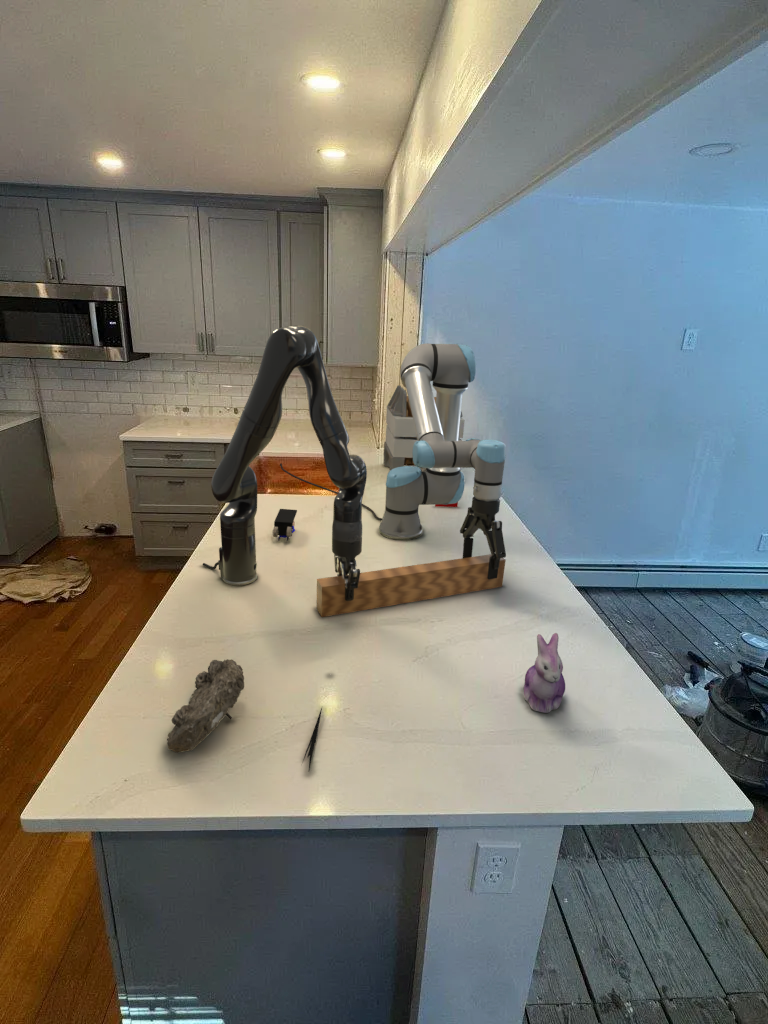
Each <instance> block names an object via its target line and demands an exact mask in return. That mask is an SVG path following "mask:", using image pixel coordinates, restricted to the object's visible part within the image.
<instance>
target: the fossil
mask: <svg viewBox="0 0 768 1024" xmlns="http://www.w3.org/2000/svg"><path fill="white" fill-rule="evenodd" d="M243 670H244V669H243V667H242V665H240V664H237V662H236V661H235V660H234V659H232V658H231V659H227V658H226V659H224V660H223V661H222V660H217V659H212V660H211V661H210V663H209V665H208V666H207V671H201V672H199V673H198V674H197V675H196V676H195V680H194V684H195V685H194V687H195V689H194V690H193V693H192V694H191V697H190V698H189V700H188V704H184V705H182V706H181V707H180V709H177V710H176V711H175V713H174V715H173V716H172V718H171V723H172V724H173V727H172V730H171V731H170V732H168V734H167V738H166V741H167V742H166V745H167V749H168V750H169V751H173V752H174V753H176V754H178V753H182V752H188V751H189V752H192V751H193V750H195V748H196V747H197V746H199V744H200V743H201V742H203V741H204V740H205V739H206V738H207V737H208V736H209V735H210V734H211V733H212V732H214V730H215V729H217V727H218V726H219V724H220V722H221V721H222V720H223V719H224V718H225V716H226V717H227V719H229V720H233V717H232V715H230V714H229V710H230V709H231V708H234V706H235V704H236V703H237V702H238V699H239V697H240V695H241V693H242V691H243V690H245V689H244V688H245V675H244V671H243Z"/></svg>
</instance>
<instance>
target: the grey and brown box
mask: <svg viewBox="0 0 768 1024" xmlns="http://www.w3.org/2000/svg"><path fill="white" fill-rule="evenodd" d="M434 400H435V404H436V396H434ZM385 414H386V415H385V423H386V428H385V438H384V442H383V466H384V467H388V468H389V471H390V470H392V469H394V468H397V467H402V466H415V464H414V462H413V453H412V452H413V445H414V443H415V442H416V441H418V439H417V435H416V430H415V426H414V421H413V416H412V412H411V407H410V403H409V398H408V394H407V389H404V387H402V385H399V384H398V385H397V386H396V388H395V390H394V392H393V394H392V395H391V398H390V400H389V402H388V404H387V405H386V413H385ZM464 429H465V419H464V418H463V411H461V416H460V426H459V437H458V441H463V440H462V439H463V438H464V431H465V430H464ZM460 471H461V472H462V468H460Z"/></svg>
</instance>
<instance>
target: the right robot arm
mask: <svg viewBox="0 0 768 1024" xmlns="http://www.w3.org/2000/svg"><path fill="white" fill-rule="evenodd" d="M476 375H477V363H476V356H475V353H474V350H473V349H472V347H470V346H469V345H467V344H466V345H465V344H458V343H429V342H426V343H421V344H418V345H415V346H413V348H411V350H410V351H408V352H407V353H406V355H405V356H404V358H403V360H402V362H401V365H400V371H399V376H400V381H401V384H402V386H403V388H405V390H406V393H407V396H408V398H409V403H410V407H411V412H412V416H413V421H414V426H415V430H416V435H417V439H418V441H416V442H415V443H414V445H413V452H412V453H413V462H414V464H415V466H407V465H404V466H402V467H397V468H394V469H392V470H390V469H389V470H388V472H387V475H386V480H385V504H384V505H385V507H384V508H385V509H384V513H383V515H382V517H378V516H377V515H376V513H375V511H374V510H373V509H372V508H370V507H369V506H367V505H365V504H364V503H362V508H365V509H367V510H368V511H370V513H372V516H374V518H375V519H377V520H378V521H381V522H379V525H378V533H379V534H380V535H381V536H382V537H385V538H387V539H389V540H395V541H410V540H415V539H418V538H420V537H421V536H422V535H423V525H422V524H421V518H420V515H419V507H420V506H427V505H428V506H430V505H431V506H433V505H434V506H435V504H443V505H447V504H455V503H457V502H458V503H459V501H460V500H461V499H462V498H463V497H462V496H463V495H464V491H465V484H466V483H465V474H464V472H462V470H461V471H460V468H461V469H462V468H463V469H465V468H466V469H467V468H470V469H471V468H472V469H473V470H474V479H473V481H474V482H473V489H472V490H473V491H472V495H473V497H472V500H471V506H470V507H468V508H467V513H466V516H465V518H464V520H463V523H462V525H461V527H460V530H459V534H460V535H461V534H462V537H463V544H462V546H463V547H462V548H463V549H462V557H461V558H468V557H473V549H474V535H475V534H476V532H478V530H480V531H482V532H483V535H484V536H485V538H486V540H487V545H488V548H489V550H490V554H491V555H492V556H490V558H489V567H488V577H487V578H488V579H495V578H497V575H498V569H499V564H500V558H504V559H505V558H506V557H507V553H506V547H505V541H504V535H503V533H504V532H503V521H502V520H496V515H497V514H498V513H499V512H500V505H501V500H500V499H501V497H502V488H503V478H504V469H505V463H506V459H507V458H506V457H507V454H506V448H507V447H506V443H504V442H503V441H500V440H496V439H482V440H481V439H479V438H474V437H472V438H471V437H470V438H468V439H466V440H462V441H458V437H459V426H460V416H461V412H462V404H463V394H464V393H465V391H467V390H468V388H469V383H472V382H474V380H475V379H476ZM431 382H432V385H431ZM433 389H434V390H435V391H436V393H435V394H436V395H435V396H434V392H433ZM434 397H436V404H435V400H434ZM279 467H280V469H281V470H282V471H283V472H284V473H286V474H287V475H289V476H291V477H292V478H295V479H296V480H298V481H301V482H303V483H306V484H309V485H312V486H313V487H316V488H319V489H322V490H324V491H328V492H331V493H333V494H335V495H337V494H338V492H339V491H335V490H333V489H330V488H327V487H324V486H323V485H319V484H316V483H314V482H311V481H308V480H306V479H303V478H301V477H298V476H296V475H295V474H293V473H291V472H289V471H288V470H286V469H285V468H284V467H283V464H282V463H279ZM422 469H425V470H423V471H422Z"/></svg>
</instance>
